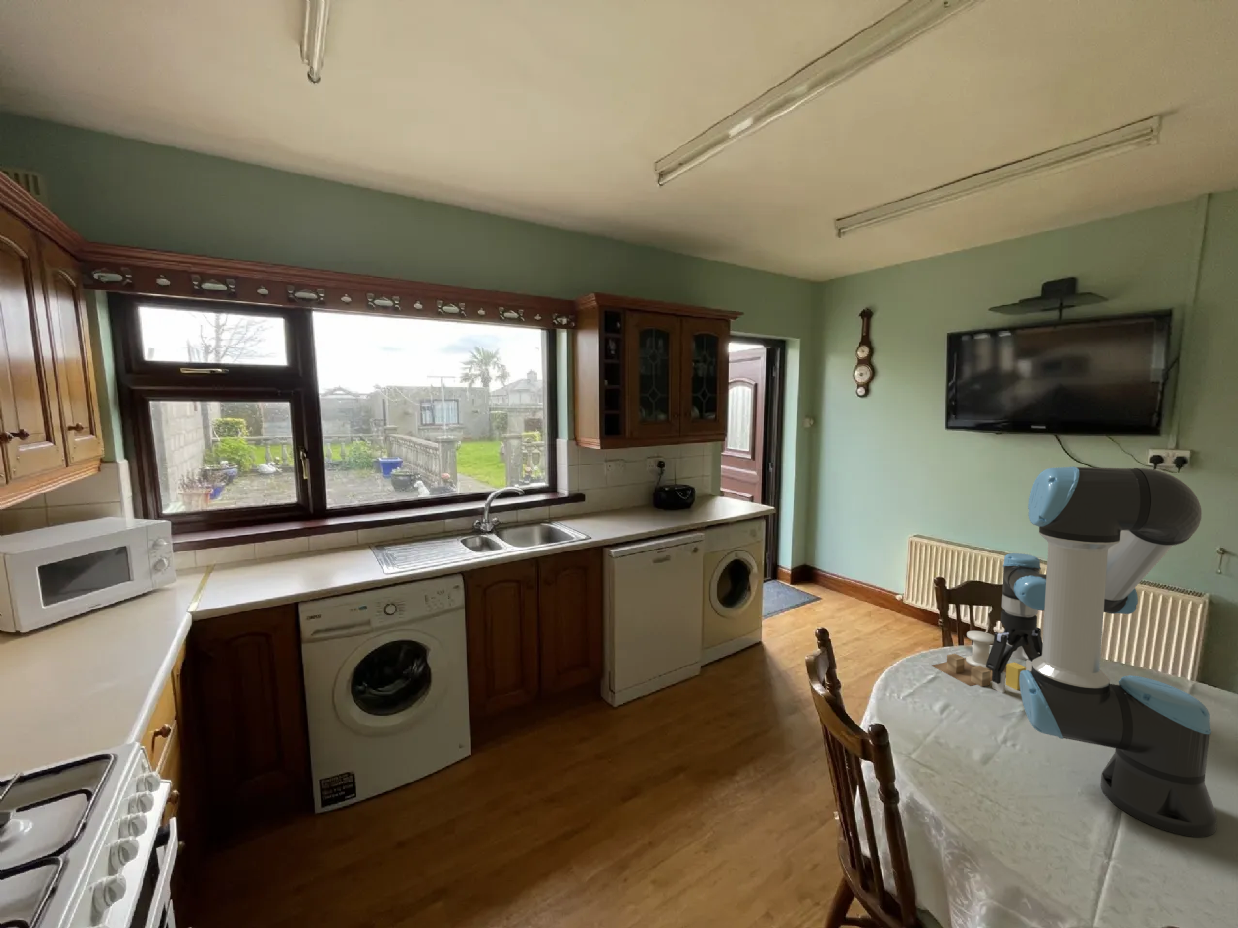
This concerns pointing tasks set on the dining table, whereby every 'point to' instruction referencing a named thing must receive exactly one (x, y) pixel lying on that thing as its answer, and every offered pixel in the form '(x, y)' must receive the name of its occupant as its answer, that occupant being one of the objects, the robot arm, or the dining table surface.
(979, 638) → the knob
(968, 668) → the board
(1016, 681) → the yellow rectangular block
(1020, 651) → the cup
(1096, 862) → the dining table surface
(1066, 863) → the dining table surface
